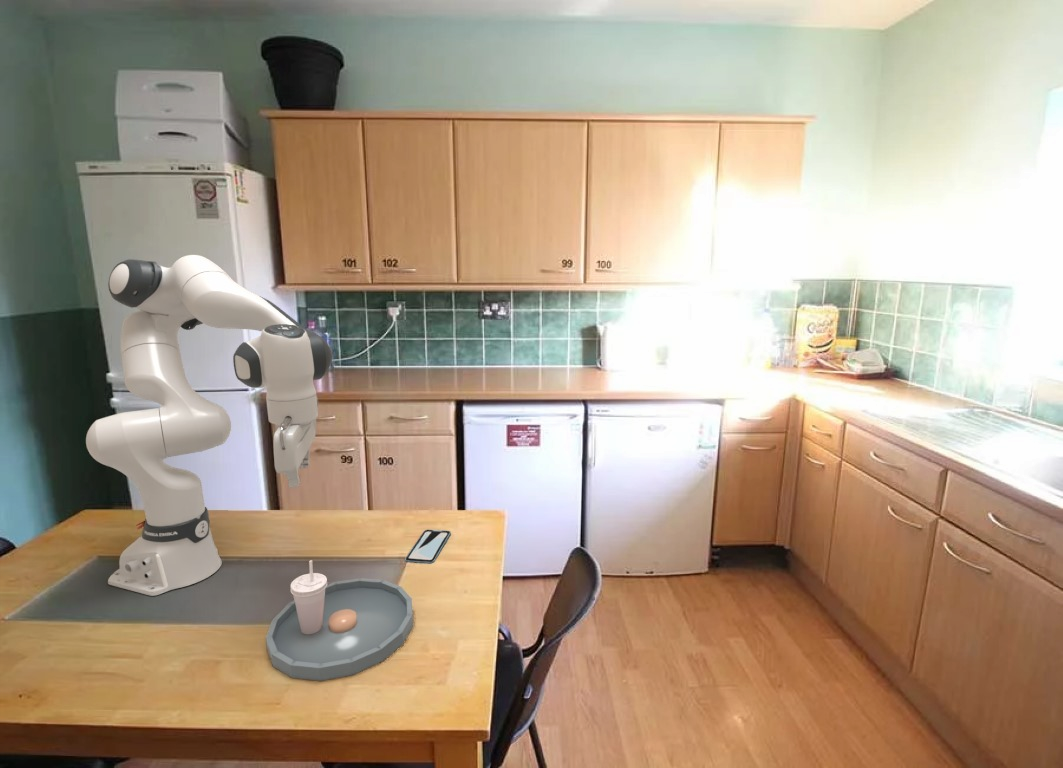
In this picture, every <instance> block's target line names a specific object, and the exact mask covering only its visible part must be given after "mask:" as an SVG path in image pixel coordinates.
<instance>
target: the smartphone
mask: <svg viewBox="0 0 1063 768" xmlns="http://www.w3.org/2000/svg"><path fill="white" fill-rule="evenodd" d="M451 535H452V532H451V530H445V529H443V530H442V529H429V528H428V529H425V530H423V531H422V533H421V534H420V536H419V537H418V539H417V540H416V542H415V543H414V544H413V546H412V547H411V549H410V551H409V552H408V553H407V555H405V558H404V562H406V563H412V564H413V563H415V564H417V563H419V564H428V565H430V564H433V563H435V562H436V560H437V558H438V557H439V555H440V554H441V552H442V551H443V548H444V547H445V546H446V544H447V542H448V540H449V539H450V537H451Z"/></svg>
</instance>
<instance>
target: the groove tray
mask: <svg viewBox="0 0 1063 768" xmlns="http://www.w3.org/2000/svg"><path fill="white" fill-rule="evenodd" d="M413 613H414V612H413V598H412V597H411V595H409V594H408V592H407V591H406V590H405V589H404V588H403V587H402V586H401V585H397V584H395V583H393V582H390V581H387V580H385V579H377V578H366V577H365V578H364V577H360V578H352V579H347V580H339V581H334V582H331V583H329V584H328V583H327V587H326V588H325V598H324V610H323V621H322V628H321V629H320V630H319V631H318V632H316V633H313V634H304V633H302V632H301V628H300V623H299V619H298V614H297V610H296V605H295V601H294V600H292V601H290V602H288V603H287V604H286V605H285V606H284V608H282V609H281V611H279V612H278V614H277V615H276V616H274V618H273V619H271V622H270V625H269V628H268V630H267V634H266V636H265V643H266V651H267V653H268V656H269V658H270V661H271V663H272V667H273V668H274V669H277V670H278V671H280V672H282V673H283V674H284V675H286V676H288V677H290V678H292V679H298V680H308V681H316V682H317V681H319V682H322V681H327V680H335V679H338V678H344V677H349V676H350V677H351V676H353V675H356V674H358V673H361V672H363V671H365V670H367V669H369V668H371V667H374V666H376V665H378V664H380V663H383V662H384V661H385V660H386V659H387V658H388V657H390V656H391V655H392V654H393V653H394V652H396V651H397V650H398V649H399V648H400V647H401V646H402V645H404V643H405V642H404V641H406V640H407V638H408V636H409V634H410V632H411V630H412V629H413V627H414V617H413V616H414V614H413Z"/></svg>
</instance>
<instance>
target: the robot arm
mask: <svg viewBox="0 0 1063 768" xmlns="http://www.w3.org/2000/svg"><path fill="white" fill-rule="evenodd" d="M107 285H108V286H107V287H108V291H109V294H110V296H111V297H112V298H113V300H115V301H117V302H118V303H119V304H120V305H124V306H126V307H129V308H131V309H132V308H135V309H138V310H137V311H134V312H131V313H129V314H128V315H127V316H126V317H125V318H124V320H123V322H122V325H121V332H120V354H121V356H120V357H121V362H122V364H121V365H122V371H123V378H124V385H125V388H126V389H127V390H128V391H129V392H130V393H131V394H133V395H134V396H136V397H138V398H141V399H143V400H147V401H150V402H154V403H157V404H158V405H161V407H160V406H159V407H157V408H155V407H154V408H147V409H142V410H132V411H125V412H119V413H115V414H112V415H108V416H105V417H102V418H99V419H96V420H95V421H94V422H93V423H92V424H91V425H90V427H89V429H88V430H87V433H86V437H85V444H86V449H87V451H88V452H89V455H90V456H91V457H92V458H93V459H94V460H95V461H96V462H98V463H100V464H102V465H104V466H106V467H110V468H113V469H115V470H116V471H118V472H120V473H122V474H123V475H125V476H126V477H127V478H128V479H129V480H130V481H131V482H132V483H133V484H134V486H135V487H136V489H137V491H138V493H139V495H140V498H141V502H142V506H143V510H144V515H145V519H144V520H143V521H141V522H139V523H137V524H136V525H135V526H136V530H140V529H141V528H142V532H141V536H139V537H138V538H136V540H134V541H133V542H132V543H130V545H129V546H127V547H126V549H124V550H123V552H122V553H121V554H120V556H119V562H118V563H119V568H118V569H116V570H115V571H114V572H112V574H111V575H110V577H108V580H107V584H108V585H109V586H112V587H116V588H120V589H124V590H128V591H132V592H136V593H139V594H142V595H146V596H151V597H153V596H158V595H161V594H163V593H167V592H169V591H172V590H176V589H180V588H184V587H188V586H191V585H193V584H196V583H199V582H201V581H203V580H205V579H207V578H209V577H210V576H211V575H213V574H215V573H216V572H217V571H218V570H219V569H220V568H221V566H222V563H223V562H222V559H221V558H220V556H219V549H218V547H216V545H215V542H214V538H213V535H212V531H211V528H210V523H211V522H210V516H209V515H210V514H209V511H208V508H207V507H206V506H205V499H204V493H203V491H204V490H203V486H202V481H201V479H200V477H199V476H198V475H197V474H196V473H194V472H193V471H190V470H187V469H183V468H178V467H174V466H173V467H172V466H170V465H168V464H167V463H166V462H165V461H164V460H165V459H168V458H171V457H172V458H173V457H178V456H182V455H183V456H184V455H189V454H190V455H191V454H195V453H202V452H204V451H207V450H208V451H209V450H210V449H211V450H212V449H213V448H216V447H219V446H222V445H223V444H224V443H225V442H226V441H227V440H228V439H229V436H230V433H231V432H232V421H231V417H230V416H229V414H228V412H227V411H226V410H225V409H224V408H223V407H222V406H221V405H219V404H218V403H215V402H213V401H210V400H208V399H207V398H205V397H203V396H202V395H200V394H199V393H198V392H196V391H195V390H194V389H193V388H192V386H191V385H190V383H189V381H188V379H187V377H186V373H185V370H184V365H183V360H182V354H181V349H180V344H179V340H178V333H179V330H180V328H181V329H182V330H187V331H188V330H189V331H190V330H193V329H195V327H197V326H199V325H203V324H204V325H206V326H208V327H211V328H216V329H230V330H231V329H232V330H233V329H234V330H235V329H236V330H237V329H238V330H251V331H259V332H261V333H260V335H259V336H258V337H256V338H253V339H251V340H248V341H245V342H242V343H240V345H239V346H238V347H237V348H236V350H235V352H234V353H233V356H232V357H233V362H232V363H233V369H234V373H235V376H236V378H237V380H239V382H241V383H242V384H244V385H245V386H247V387H249V388H251V389H253V388H254V389H257V388H258V389H263V388H265V391H266V393H265V394H266V395H265V399H266V409H267V417H268V422H269V423H270V424H273V425H276V429H277V430H275V432H274V434H273V442H272V443H273V447H272V448H273V459H274V462H273V463H274V470H275V472H276V473H277V474H284V475H285V477H286V479H287V483H288V484H287V485H288V487H289V489H295V488H296V489H297V488H298V487H299V486H300V484H301V479H300V478H301V476H300V475H299V469H302V470H303V469H308V468H309V467H310V464H311V463H310V451H311V445H312V444H313V442H314V441H315V438H316V434H317V418H318V416H319V409H318V408H319V399H318V396H317V390H316V388H315V384H314V381H318V380H321V379H322V378H323V377H324V376H325V375H326V373H328V371H329V369H330V367H331V365H332V362H333V352H332V350H331V347H330V346H329V344H328V342H327V341H326V340H325V339H324V338H323V337H322V336H321V335H319V334H318V333H316V331H315V332H314V331H312V330H308V329H307V328H306V327H304V326H303V325H301V324H300V323H299V322H298V321H297V320H295V319H294V318H293V317H292V316H290V315H289V314H287V312H285V311H284V310H282V309H281V307H279V306H277V305H276V304H275V303H274V302H272V301H270V300H269V299H267V298H265V297H262V296H261V295H258V294H256V293H254V292H252V291H250V290H248V289H247V288H246V287H245V288H244V287H243V286H242V285H240V284H238V283H237V282H236V281H235V280H233V278H231V277H230V275H229V274H228V273H227V271H225V270H224V269H223V268H221V267H220V266H219V265H217V264H216V263H215V262H213V261H212V260H210V259H208V258H207V257H205V256H202V255H200V254H187V255H184V256H182V257H180V258H178V259H177V260H176V261H175V262H173V264H172V265H171V266H170V267H165V266H163V265H159V264H158V263H157V262H156V261H152V260H151V261H148V260H143V259H141V260H140V259H130V258H129V259H125V260H123V261H121V262H119V263H117V264H116V265H115V266H114V267H113V269H112V270H111V273H110V275H109V277H108V284H107Z"/></svg>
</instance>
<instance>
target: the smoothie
mask: <svg viewBox="0 0 1063 768" xmlns="http://www.w3.org/2000/svg"><path fill="white" fill-rule="evenodd" d="M308 564H309V565H308V566H309V573H306V574H302V575H299V576H297V577H296V578H294V579H293V581H291V583H290V593H291V594H292V595H293V599H294V600H293V601H295V605H296V610H297V614H298V619H299V623H300V628H301V632H302V633H304V634H313V633H316V632H318V631H319V630H320V629H321V628H322V621H323V610H324V598H325V588H326V587H327V585H328V579H327V576H326V575H324V574H322V573H318V572H314V568H313V564H314V563H313V560H312V559H311V560H309V562H308Z"/></svg>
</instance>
